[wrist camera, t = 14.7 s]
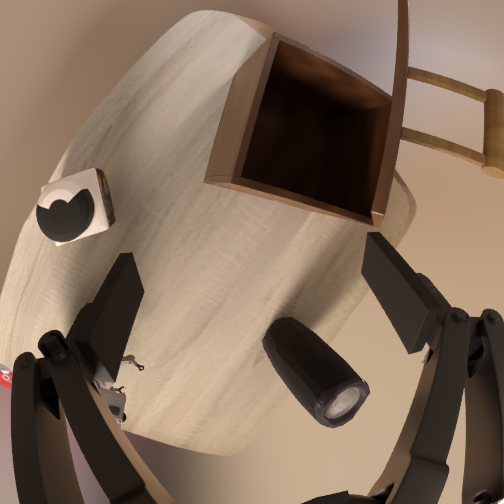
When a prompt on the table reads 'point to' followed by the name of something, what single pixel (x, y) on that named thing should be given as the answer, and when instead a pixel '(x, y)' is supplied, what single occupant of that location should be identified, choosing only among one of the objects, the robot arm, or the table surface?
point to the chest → (302, 132)
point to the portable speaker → (314, 373)
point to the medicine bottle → (75, 206)
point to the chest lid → (494, 146)
